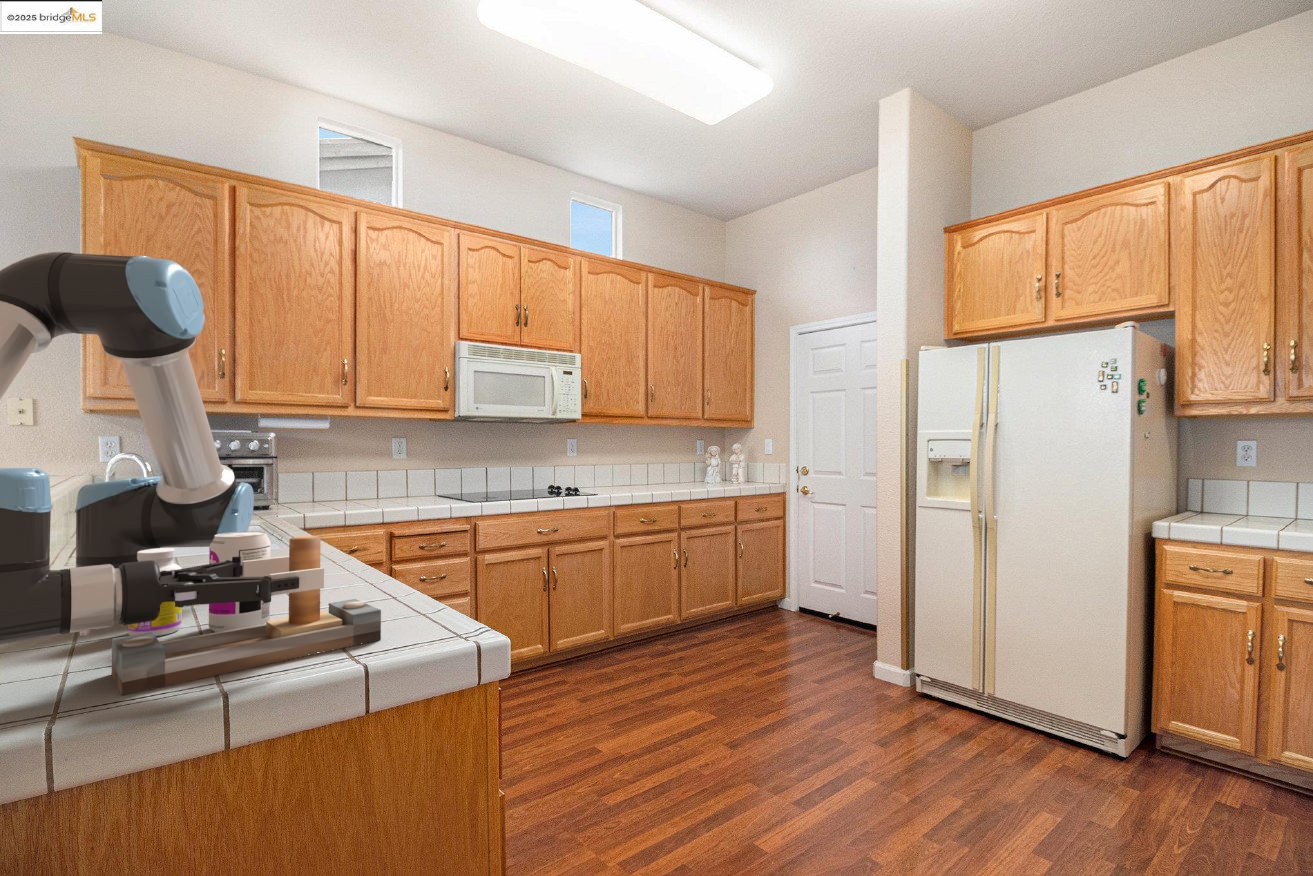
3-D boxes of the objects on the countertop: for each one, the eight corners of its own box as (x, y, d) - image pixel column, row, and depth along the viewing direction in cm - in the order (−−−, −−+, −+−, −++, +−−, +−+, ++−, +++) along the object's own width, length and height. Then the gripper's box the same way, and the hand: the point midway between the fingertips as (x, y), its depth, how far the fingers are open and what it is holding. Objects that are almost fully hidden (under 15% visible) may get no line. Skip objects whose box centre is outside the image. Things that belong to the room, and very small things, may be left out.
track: (111, 674, 82) (112, 635, 82) (354, 627, 103) (355, 596, 103) (122, 695, 75) (122, 653, 75) (380, 640, 96) (380, 607, 96)
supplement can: (205, 637, 98) (206, 538, 98) (213, 624, 105) (214, 532, 105) (267, 630, 101) (268, 535, 101) (271, 618, 109) (271, 529, 109)
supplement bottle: (117, 636, 98) (118, 552, 98) (164, 625, 104) (165, 546, 105) (145, 641, 96) (146, 554, 96) (191, 629, 102) (192, 548, 102)
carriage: (266, 635, 93) (267, 538, 93) (325, 624, 99) (325, 533, 99) (281, 645, 88) (281, 543, 88) (342, 633, 94) (342, 537, 94)
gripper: (105, 607, 87) (281, 584, 102) (130, 648, 69) (337, 612, 84) (106, 552, 87) (281, 536, 102) (131, 578, 69) (338, 555, 85)
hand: (307, 571), depth 93 cm, fingers open, 13 cm apart
